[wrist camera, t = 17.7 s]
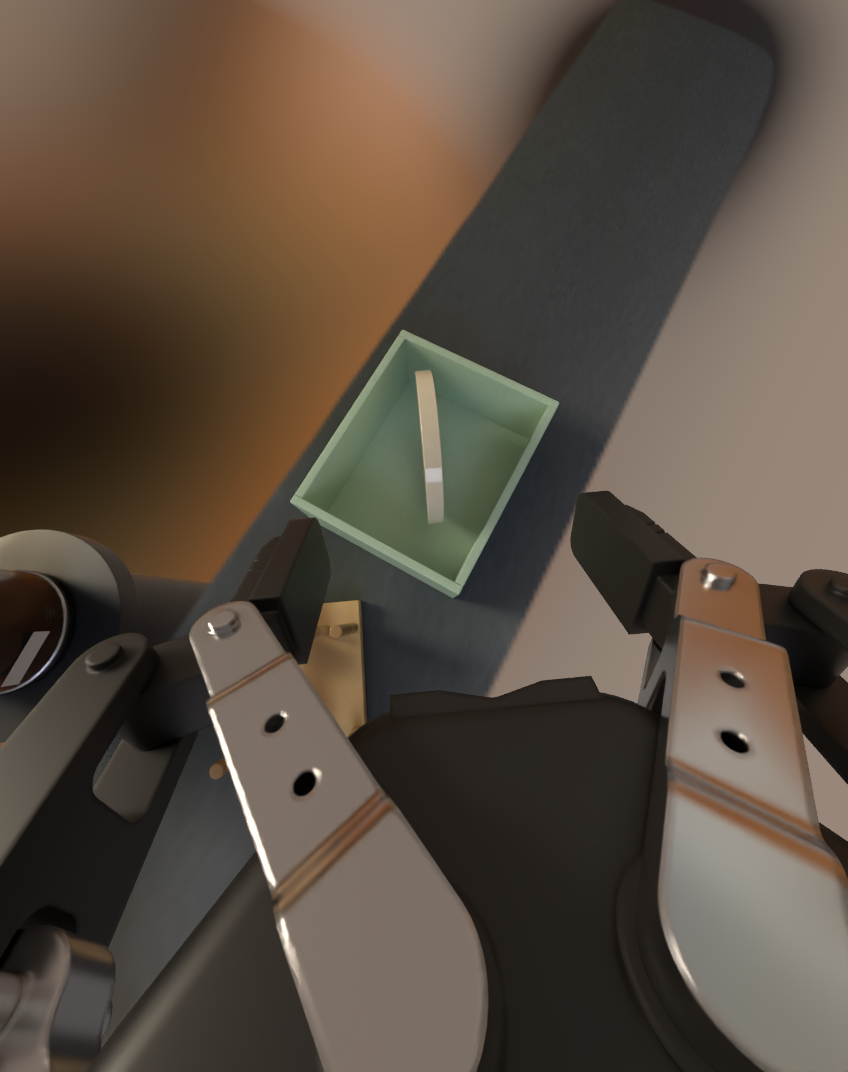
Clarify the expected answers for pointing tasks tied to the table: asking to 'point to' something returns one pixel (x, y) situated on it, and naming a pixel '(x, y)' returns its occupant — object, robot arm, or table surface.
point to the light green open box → (396, 471)
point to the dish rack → (334, 668)
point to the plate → (430, 446)
